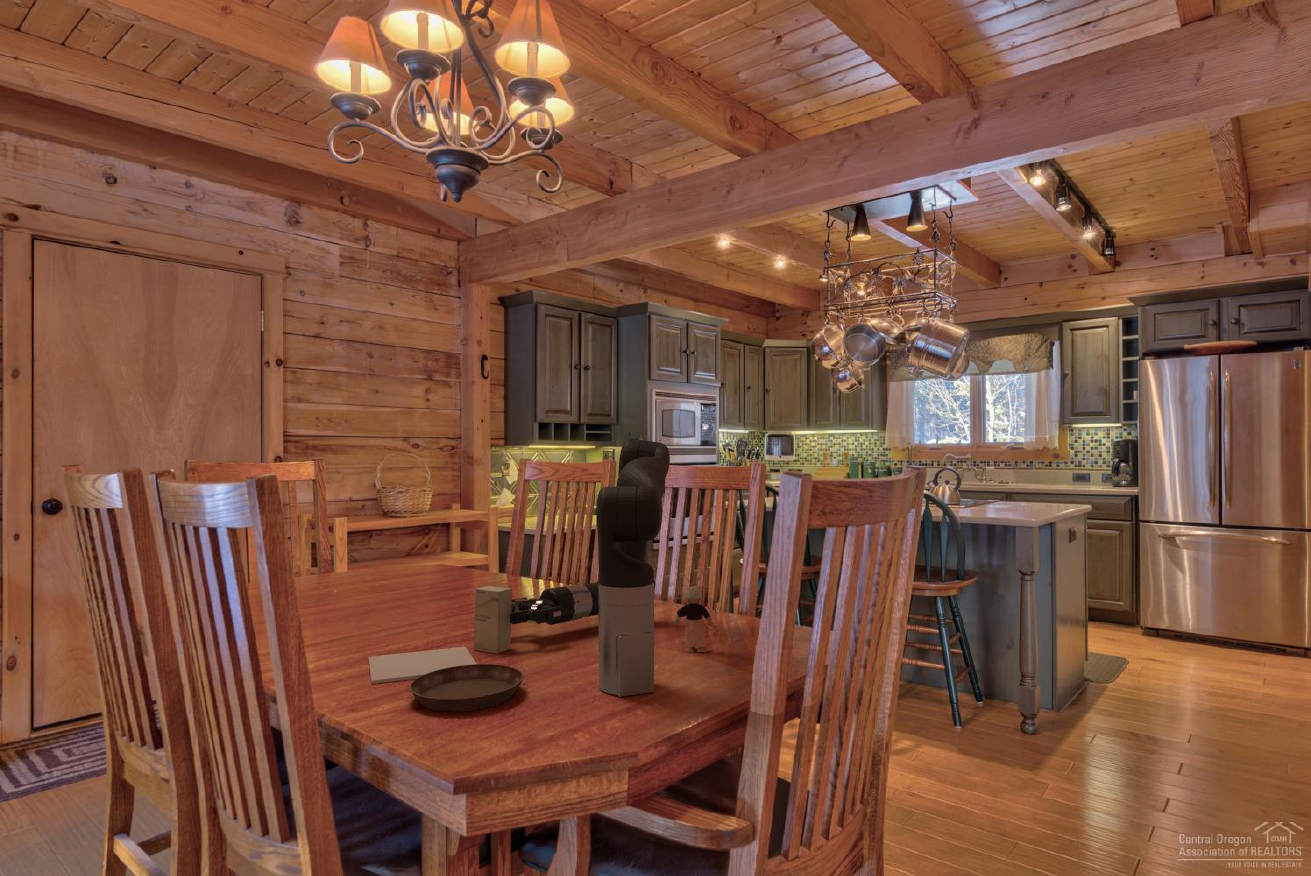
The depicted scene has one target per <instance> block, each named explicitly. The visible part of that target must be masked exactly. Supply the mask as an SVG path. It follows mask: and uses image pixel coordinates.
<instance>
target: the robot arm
mask: <svg viewBox="0 0 1311 876" xmlns="http://www.w3.org/2000/svg"><path fill="white" fill-rule="evenodd" d="M670 462H671V455H670V451H669V448H668V446H667V445H666V444H664V443H662V442H659V441H653V440H644V439H637V438H627V439H625V441H623V443H622V445H621V449H620V455H619V459H618V471H617V473H618V474H617V481H616V484H615V485H616V486H604V487H601V489H600V490H599V492H598V494H597V497H596V506H595V507H596V509H595V510H596V511H595V515H596V531H597V533H596V534H597V551H598V553H597V554H598V560H597V561H598V581H596V582H591V583H585V584H572V585H571V584H570V585H564V586H558V587H551V588H550V587H549V588H546V589H544V590H543V591H542V592H541V593H540V596H539V598H537V597H530V598H528V597H522V598H514V599H513V598H512V604H511V614H510V623H511V625H518V624H524V623H530V624H533V623H536V624H538V625H540V624H544V623H545V624H547V625H549V626H553V625H559V624H563V623H568V622H575V621H578V620H582V619H583V618H589V617H594V616H598V689H599V690H600V691H602V692H603V693H607V694H611V695H616V696H617V697H620V698H621V697H626V696H634V695H635V696H636V695H641V694H648V693H654V692H655V583H654V582H655V574H654V567H653V566H652V565H651V564H649V563H648V562H645V558H646V553H647V545H648V542H650V541H653V540H654V539H655V538H656V537H657V536H658V535H659V533H660V531H661V527H662V521H663V498H664V497H663V496H664V493H665V486H666V478H667V475H668V473H669V469H670Z"/></svg>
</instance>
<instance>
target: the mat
mask: <svg viewBox="0 0 1311 876" xmlns="http://www.w3.org/2000/svg"><path fill="white" fill-rule="evenodd" d="M472 664H477V662H476V660H475V659H474V657H473V656H472V654H471V653H470V651H469V649H468V648H467V647H466V646H460V647H459V646H458V647H450V648H441V649H432V650H431V649H430V650H421V651H413V652H410V651H409V652H402V653H393V654H383V655H381V654H380V655H373V656H368V666H369V668H368V669H369V674H370V676H369V677H370V681H371V682H370V683H371V685H374V684H384V683H392V682H402V681H409V680H415V679H416V678H418V677H420V676H422V675H425V674H427V673H430V672H433V671H436V670H440V669H444V668H448V667H454V666H461V665H472Z"/></svg>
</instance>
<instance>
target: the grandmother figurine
mask: <svg viewBox="0 0 1311 876" xmlns="http://www.w3.org/2000/svg"><path fill="white" fill-rule="evenodd" d="M702 593H703V592H702V589H701V587H700V586H698V585H691V586H690V587H688V588H687V589H686V591H685V596H684V597H685V598H686V599H687V600H688V603H689V604H685V605H683V606H681V607H680V608H679V609H678V610H677V612H676V615H675V618H674V622H675V623H676V624H679V622H680V621H681V619H682V618H684V617H686V619H685V625H684V629H685V632H684V633H685V634H684V636H685V637H684V638H685V645H686V648H685V652H686V653H694V652H695V651H696V653H698V652H704V653H707V652H709V648H708V647H707V646H706V635H705V623H704V619H705V620H706V622H707V625H708V627H713V626H714V621H712V620H713V619H712V617H711V615H712V614H711V613H710V612H709V610H708V609H707V608H706V607H705V606H704V605H701V604H699V603H700V602H701V599H702Z"/></svg>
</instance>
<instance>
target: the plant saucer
mask: <svg viewBox="0 0 1311 876" xmlns="http://www.w3.org/2000/svg"><path fill="white" fill-rule="evenodd" d="M523 679H524V674H523V672H522V671H521V670H519V669H518V668H515V667H512V666H508V665H502V664H494V663H476V664H472V665H461V666H454V667H448V668H444V669H440V670H436V671H433V672H430V673H427V674H425V675H422V676H420V677H418V678H416V679H413V680H412V681H411V683H410V684H409V690H410V692H411V694H412V695H413V697H415V699H416V700H417V701H418V702H419V703H420V704H421V705H422V706H424V707H425V708H427V709H430V710H433V711H438V712H451V713H453V712H455V713H458V712H459V711H463V712H470V711H469V710H473V711H478V709H480V710H484V709H488V708H492V707H495V706H497V705H500V704H503V702H506V701H507V700H509V699H510V698H511V697H512V696H513V694H514V693H515V692H516V691H517V690H518V689H519V687H520V686H521V684H522V683H523V682H522V681H523ZM456 711H458V712H456ZM459 713H460V712H459Z"/></svg>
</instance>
